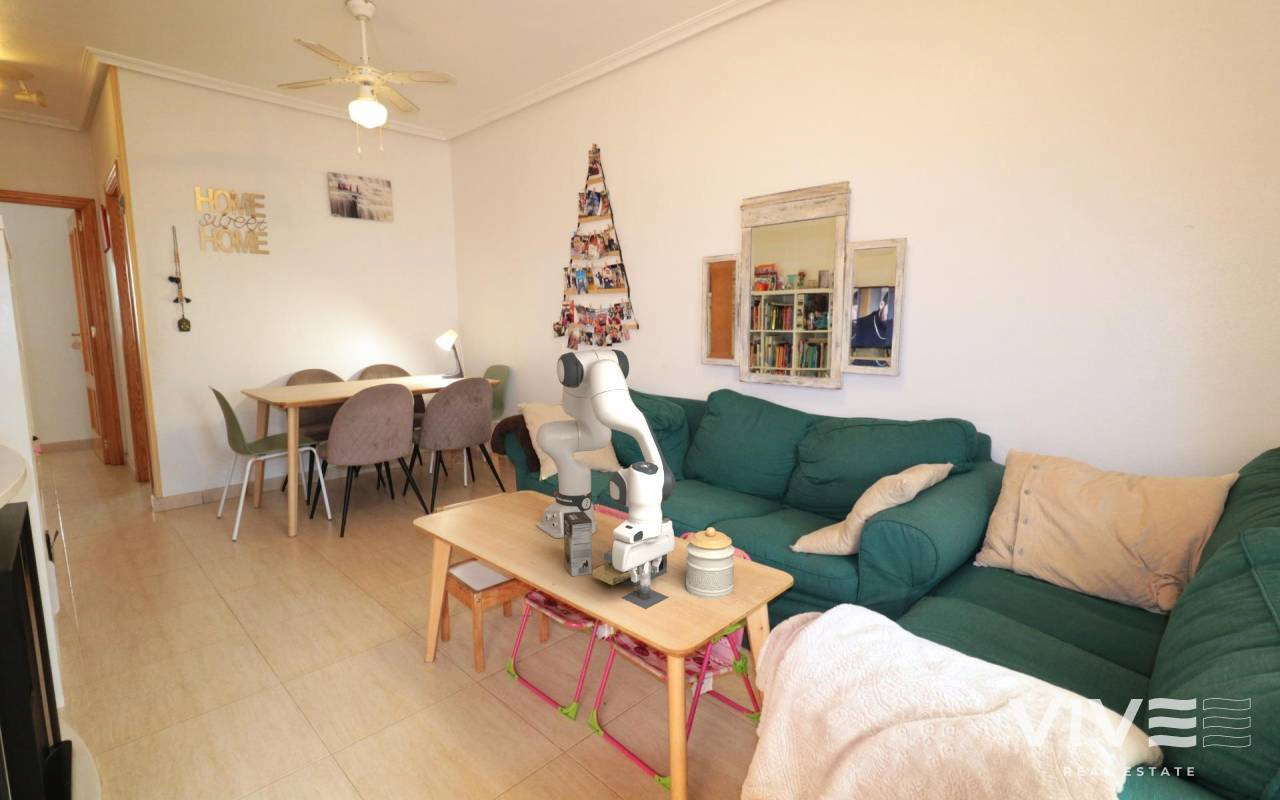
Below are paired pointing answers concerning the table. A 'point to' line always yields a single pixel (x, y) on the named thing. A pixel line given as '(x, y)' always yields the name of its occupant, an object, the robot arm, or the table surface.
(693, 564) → the jar
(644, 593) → the pin
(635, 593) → the mat
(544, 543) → the table surface
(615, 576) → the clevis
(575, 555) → the coffee box
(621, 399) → the robot arm
